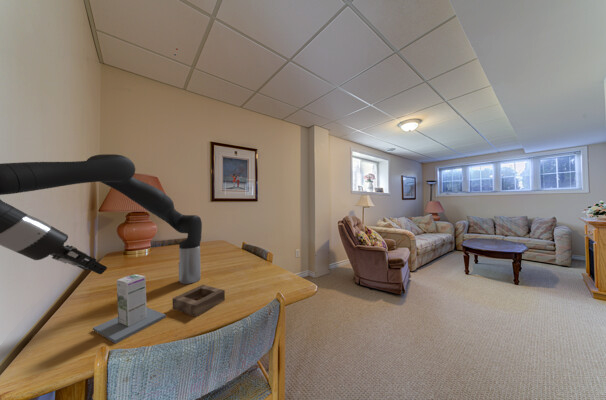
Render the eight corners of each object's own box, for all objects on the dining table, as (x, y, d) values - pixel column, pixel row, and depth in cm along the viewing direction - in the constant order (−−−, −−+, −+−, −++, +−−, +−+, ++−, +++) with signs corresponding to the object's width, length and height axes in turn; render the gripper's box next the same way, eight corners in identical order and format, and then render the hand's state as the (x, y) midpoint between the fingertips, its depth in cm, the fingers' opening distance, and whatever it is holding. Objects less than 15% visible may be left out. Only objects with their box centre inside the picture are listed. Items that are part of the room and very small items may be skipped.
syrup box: (147, 317, 69) (146, 275, 69) (127, 327, 63) (126, 282, 63) (137, 314, 71) (136, 273, 71) (116, 323, 66) (115, 279, 65)
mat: (92, 330, 64) (92, 327, 64) (143, 308, 76) (143, 305, 76) (115, 343, 58) (115, 340, 58) (165, 317, 70) (165, 314, 70)
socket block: (172, 308, 76) (172, 298, 76) (202, 293, 88) (202, 284, 88) (195, 317, 71) (195, 305, 70) (224, 299, 82) (224, 290, 82)
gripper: (60, 226, 48) (120, 260, 58) (38, 223, 54) (96, 255, 64) (23, 253, 43) (96, 285, 54) (3, 247, 49) (73, 277, 60)
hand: (96, 269), depth 59 cm, fingers open, 8 cm apart
